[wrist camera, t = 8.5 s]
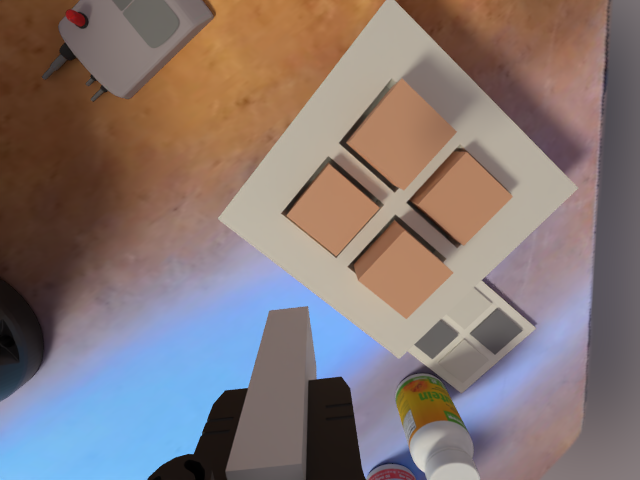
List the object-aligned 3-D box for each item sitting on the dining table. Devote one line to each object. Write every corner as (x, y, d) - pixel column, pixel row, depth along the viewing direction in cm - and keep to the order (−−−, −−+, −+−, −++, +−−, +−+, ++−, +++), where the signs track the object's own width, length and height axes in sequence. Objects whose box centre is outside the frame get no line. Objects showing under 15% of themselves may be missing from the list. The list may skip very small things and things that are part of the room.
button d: (290, 207, 28) (286, 215, 25) (328, 162, 27) (329, 164, 24) (334, 244, 29) (336, 256, 26) (373, 200, 28) (379, 207, 25)
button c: (345, 142, 25) (349, 141, 22) (391, 87, 24) (401, 78, 21) (393, 185, 26) (403, 190, 23) (439, 134, 25) (457, 131, 22)
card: (391, 336, 33) (392, 340, 33) (464, 265, 31) (466, 267, 30) (460, 390, 35) (462, 394, 34) (533, 326, 33) (537, 329, 32)
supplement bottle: (451, 376, 34) (500, 461, 25) (436, 417, 36) (477, 513, 26) (401, 367, 34) (431, 450, 25) (388, 409, 36) (412, 503, 26)
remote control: (234, 3, 26) (222, -15, 23) (100, 132, 29) (75, 130, 26) (174, -78, 25) (154, -108, 22) (40, 65, 27) (6, 56, 24)
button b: (353, 264, 28) (357, 280, 24) (394, 220, 27) (404, 230, 23) (396, 299, 29) (406, 319, 25) (438, 257, 28) (453, 272, 24)
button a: (406, 198, 28) (417, 204, 25) (448, 151, 27) (466, 151, 24) (447, 234, 29) (463, 246, 26) (490, 190, 28) (513, 196, 24)
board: (229, 210, 30) (217, 218, 26) (380, 16, 26) (389, -5, 22) (391, 336, 33) (399, 358, 30) (547, 183, 29) (578, 188, 26)
